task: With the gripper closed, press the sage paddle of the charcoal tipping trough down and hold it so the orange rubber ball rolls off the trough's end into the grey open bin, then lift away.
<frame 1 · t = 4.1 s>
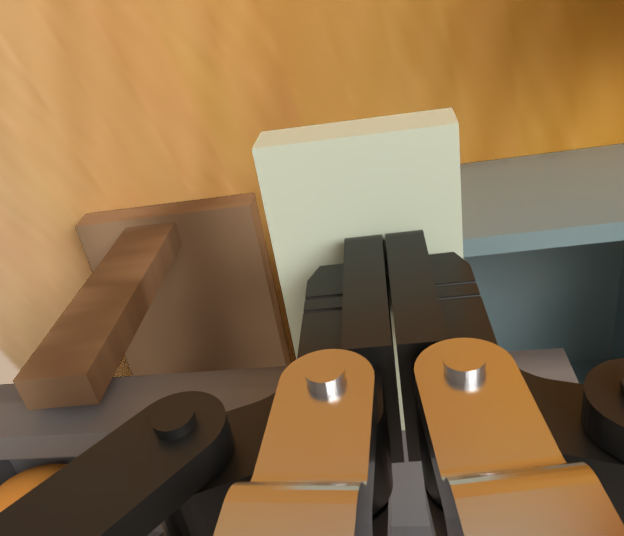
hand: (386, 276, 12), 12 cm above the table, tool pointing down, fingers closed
stand: (188, 308, 26), on the table
lever: (231, 395, 15), point 10 cm above the table, hinge at -2.1°, touching ball, gripper
grey open bin: (502, 275, 25), on the table
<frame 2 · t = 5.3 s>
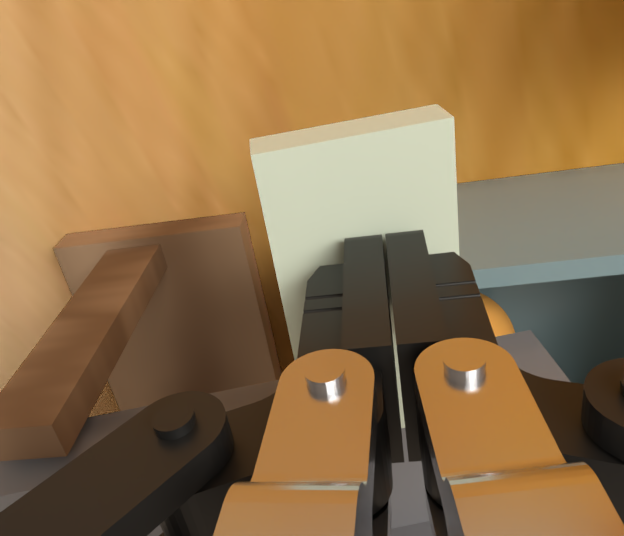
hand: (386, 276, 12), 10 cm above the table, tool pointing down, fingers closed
stand: (176, 332, 25), on the table
ball: (457, 344, 21), point 2 cm above the table, tilted 36°, touching grey open bin
lever: (217, 419, 15), point 9 cm above the table, hinge at 9.7°, touching gripper
grey open bin: (509, 299, 23), on the table
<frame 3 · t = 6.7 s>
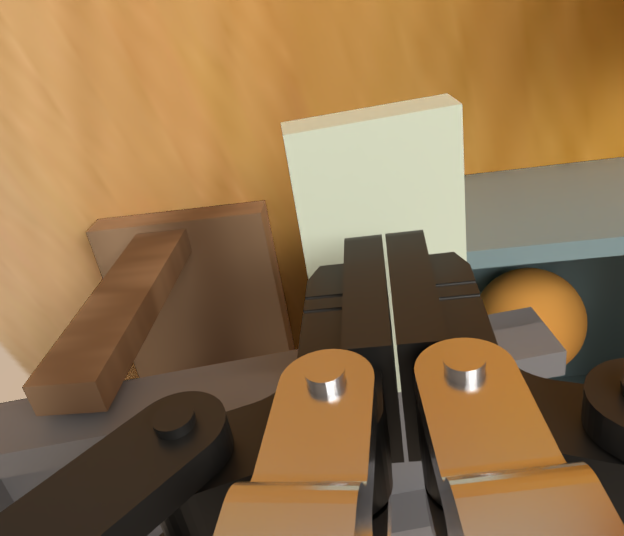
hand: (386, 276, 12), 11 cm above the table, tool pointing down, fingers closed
stand: (197, 314, 26), on the table
ball: (528, 321, 22), point 2 cm above the table, tilted 32°, touching grey open bin
lever: (243, 381, 16), point 9 cm above the table, hinge at 9.7°
grey open bin: (513, 286, 24), on the table
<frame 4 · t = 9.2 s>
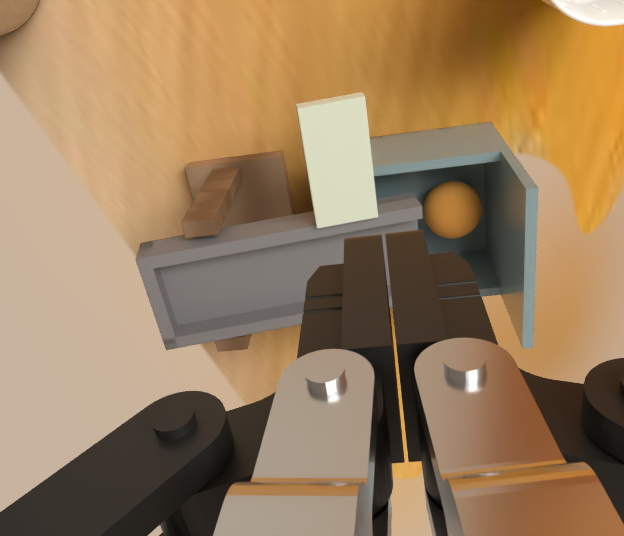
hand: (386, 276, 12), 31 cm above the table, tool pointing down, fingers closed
stand: (242, 219, 46), on the table
ball: (452, 209, 41), point 2 cm above the table, tilted 86°, touching grey open bin
lever: (278, 223, 35), point 9 cm above the table, hinge at 9.7°
grey open bin: (420, 198, 44), on the table
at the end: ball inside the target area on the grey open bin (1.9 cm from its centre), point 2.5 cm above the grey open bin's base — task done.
